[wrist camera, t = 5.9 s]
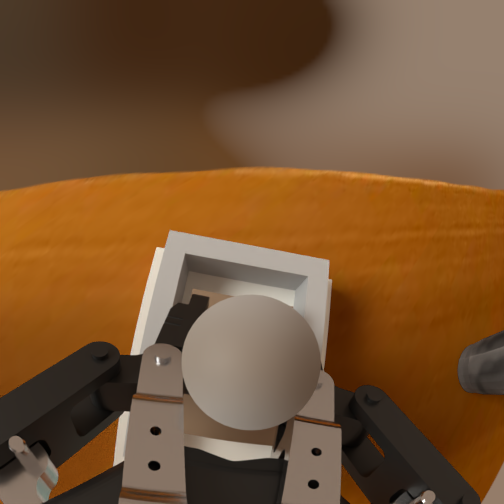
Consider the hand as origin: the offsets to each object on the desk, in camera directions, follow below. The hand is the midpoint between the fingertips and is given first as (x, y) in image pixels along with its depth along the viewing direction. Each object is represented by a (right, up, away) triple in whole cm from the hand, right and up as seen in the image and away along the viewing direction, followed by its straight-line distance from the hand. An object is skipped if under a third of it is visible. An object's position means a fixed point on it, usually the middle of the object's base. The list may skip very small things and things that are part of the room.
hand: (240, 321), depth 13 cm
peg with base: (-1, -4, +5) cm, 6 cm away
